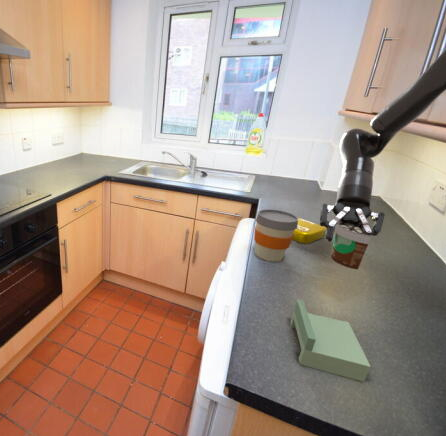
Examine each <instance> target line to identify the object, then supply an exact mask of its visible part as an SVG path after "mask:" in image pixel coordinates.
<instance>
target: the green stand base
mask: <svg viewBox="0 0 446 436" xmlns="http://www.w3.org/2000/svg"><path fill="white" fill-rule="evenodd" d="M289 325H290V328H293V329H295V330H296V333H297V337H298V342H299V346H300V349H301V350H300V353H299V356H298V363H299V365H300V366H304V367H308V368H311V369H314V370H315V369H316V370H319V371H323V372H326V373H330V374H333V375H336V376H340V377H344V378H348V379H351V380H355V381H359V382H363V383H364V382H365V380H366V378H367V377H368V374H369V372H370V369H371V368H372V367H371V364H370V362H369V360H368V358H367V356H366V354H365V352H364V350H363V348H362V346H361V343H360V342H359V340H358V338H357V336H356V334H355V332H354V330H353V328H352V326H351V324H350V322H348V321H345V320H341V319H335V318H331V317H328V316H322V315H319V314H313V313H309V312H308V311H307V307H306V304H305V301H304V300H301V299H297V300H296V303H295V306H294V309H293V313H292V317H291V320H290V324H289Z"/></svg>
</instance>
